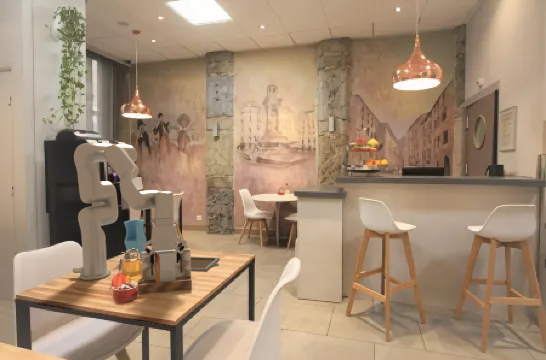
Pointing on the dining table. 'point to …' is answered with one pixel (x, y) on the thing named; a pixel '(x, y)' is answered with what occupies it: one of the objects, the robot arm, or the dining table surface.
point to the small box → (165, 266)
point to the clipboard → (203, 263)
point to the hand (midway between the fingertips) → (165, 262)
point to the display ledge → (181, 281)
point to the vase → (135, 235)
